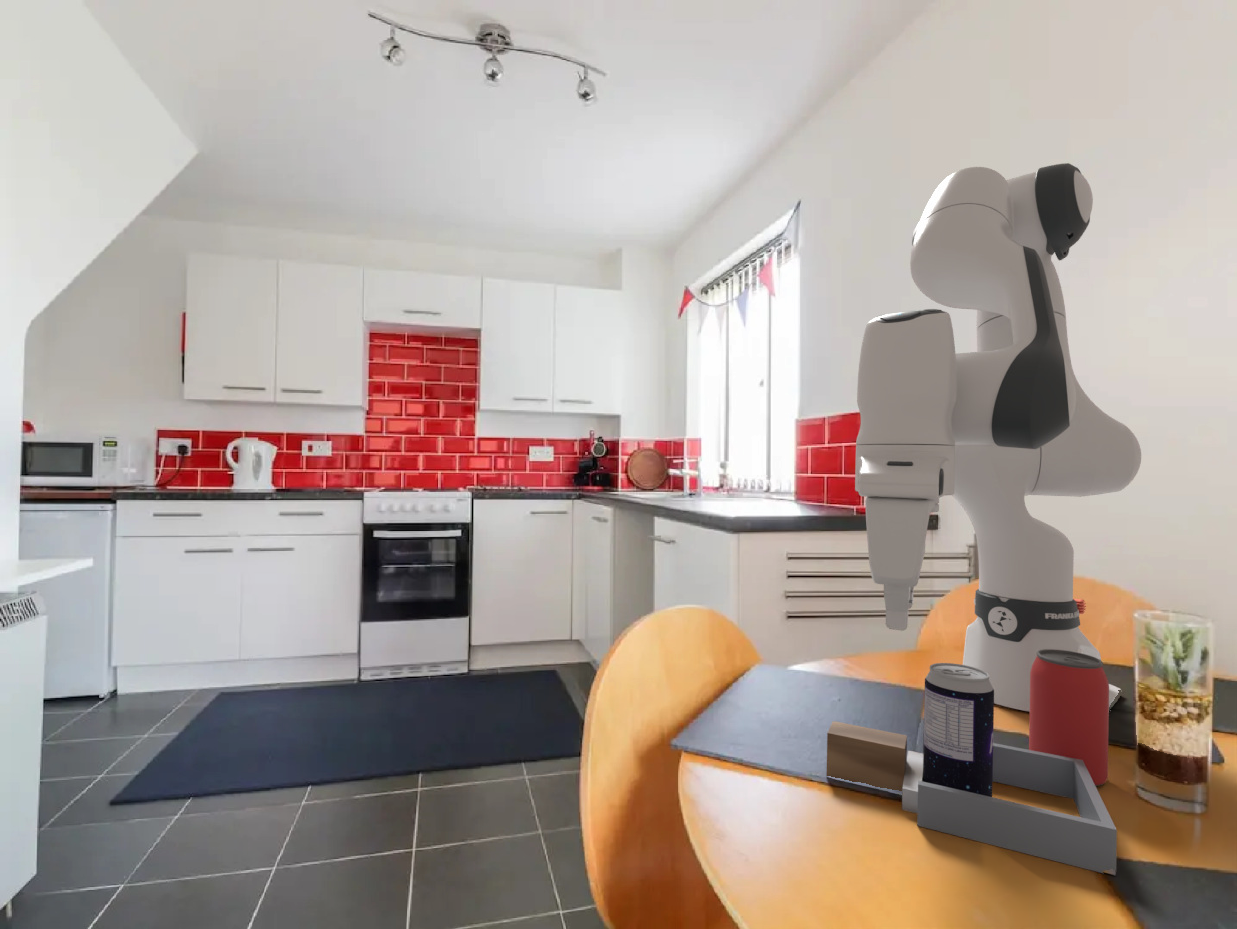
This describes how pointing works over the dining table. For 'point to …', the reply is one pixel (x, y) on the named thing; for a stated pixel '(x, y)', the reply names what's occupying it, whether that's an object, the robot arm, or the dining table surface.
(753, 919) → the dining table surface
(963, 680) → the beverage can
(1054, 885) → the dining table surface
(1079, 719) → the beer can
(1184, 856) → the dining table surface
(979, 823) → the box
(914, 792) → the brown block
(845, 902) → the dining table surface
